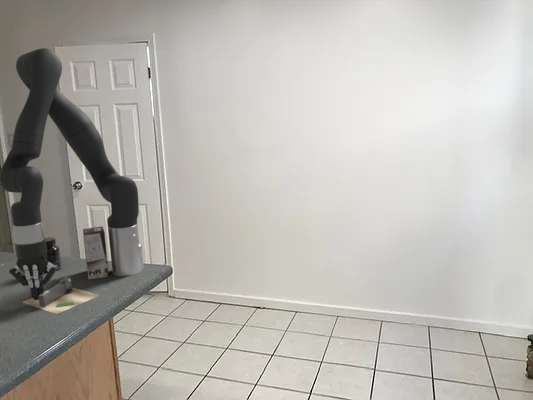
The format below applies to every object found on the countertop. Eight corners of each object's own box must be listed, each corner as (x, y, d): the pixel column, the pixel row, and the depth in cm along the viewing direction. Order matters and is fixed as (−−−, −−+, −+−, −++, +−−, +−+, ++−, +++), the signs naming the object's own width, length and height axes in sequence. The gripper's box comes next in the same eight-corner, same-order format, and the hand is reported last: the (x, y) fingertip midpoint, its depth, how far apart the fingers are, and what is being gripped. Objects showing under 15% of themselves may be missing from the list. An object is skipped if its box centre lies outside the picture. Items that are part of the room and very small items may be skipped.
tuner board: (66, 290, 146) (65, 284, 145) (100, 300, 137) (99, 294, 137) (22, 307, 134) (21, 301, 134) (57, 319, 126) (56, 313, 125)
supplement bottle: (36, 275, 159) (31, 240, 157) (53, 268, 165) (49, 235, 163) (49, 278, 156) (45, 243, 154) (67, 271, 162) (62, 237, 160)
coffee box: (109, 280, 152) (104, 232, 149) (88, 283, 150) (83, 234, 147) (107, 271, 161) (103, 225, 157) (87, 274, 158) (82, 228, 155)
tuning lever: (65, 288, 142) (64, 277, 141) (74, 288, 141) (73, 277, 140) (37, 305, 130) (35, 293, 129) (47, 306, 129) (45, 294, 128)
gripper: (59, 234, 132) (67, 292, 136) (11, 236, 132) (20, 294, 136) (48, 242, 125) (56, 303, 129) (-3, 244, 125) (7, 305, 128)
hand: (38, 298), depth 132 cm, fingers closed
